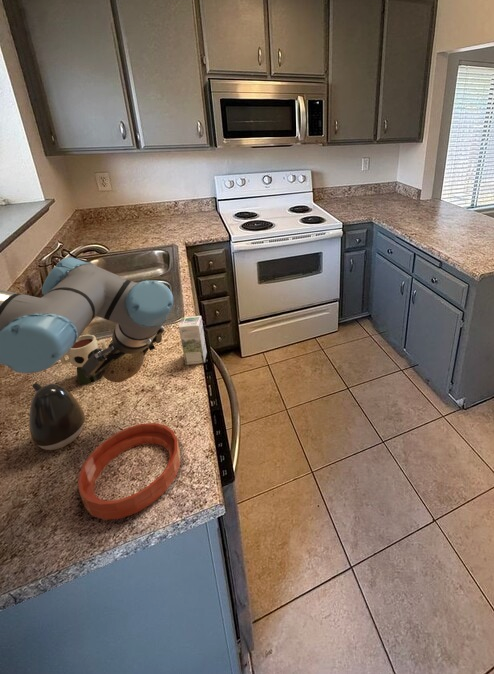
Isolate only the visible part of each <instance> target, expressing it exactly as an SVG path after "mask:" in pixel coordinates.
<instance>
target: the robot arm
mask: <svg viewBox="0 0 494 674" xmlns="http://www.w3.org/2000/svg"><path fill="white" fill-rule="evenodd" d="M41 294H42V296H41V297H38V296H34V295H29V294H28V295H27V294H22V293H17V292H14V291H8V290H4V289H0V365H2V366H6V367H8V368H10V369H11V371H14V372H16V373H20V374H34V373H35V374H36V373H39V372H43V371H46V370H48V369H50V368H51V367H53V366H54V365H55V364H56V363H57V362H59V361H60V358H61V357H62V356H63V355H65V354H66V353H67V352H68V351H69V350H70V349H71V348H72V347H73V345H74V343H75V342H76V340H77V339H78V337H79V336H82V334H83V333H84V331H85V330H86V329H87V327H88V326H89V325H90V324H91V323H92V322H93V320H94V319H95V318H96V317H98V318H101V319H103V320H106V321H110V322H113V323H115V327H114V329H113V332H112V336H111V342H110V343H109V344H108V346H107V347H106V349H104V350H103V349H100V348H101V347H98V348H97V349H95V350H94V351H93V354H92V356H91V357H90V358H89V359H88V360H87V361H86V363H85V364H84V365H83V366H82V367H81V368H82V370H83V372H84V374H85V376H86V378H88V377H91V375H92V376H96V378H97V381H100V380H101V379H102V378H103V377H104V376H103V373H104V371H105V370H104V368H106V367H107V366H108V365H109V364H110V363H112V362H113V361H114V360H116V359H119V358H121V357H123V356H124V355H125V354H136V353H139V352H142V351H143V353H144V356H146V354H147V352H148V351H154V350H155V349H156V347H155V343H156V344H160V343H161V342H162V340H163V339H162V336H163V333H164V332H165V329H164V327H163V325H164V324H165V322H166V321H167V319H168V318H169V315H170V313H171V311H172V309H173V306H174V305H173V304H174V295H173V292H172V290H171V289H170V288H169V287H168V286H167V285H166V284H165V283H163V282H161V281H158V280H143V281H140V282H135V281H133V280H130V279H127V278H125V277H122V276H121V275H119V274H115V273H114V272H111V271H109V270H107V269H104V268H102V267H99V266H97V265H94V263H91V262H87V261H83V260H81V259H78V258H76V257H71V256H69V257H65V258H63V259H61V260H60V261H58V262H57V264H56V265H55V266H54V267H53V268H52V269H51V270H50V272H49V273H48V275H47V277H46V278H45V279H44V282H43V284H42V287H41Z"/></svg>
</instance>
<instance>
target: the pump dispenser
mask: <svg viewBox="0 0 494 674" xmlns="http://www.w3.org/2000/svg"><path fill="white" fill-rule="evenodd" d="M31 387H32V388H33V390H34V391H35V394H34V395H33V397H32V399H31V402H30V407H29V415H28V420H29V422H28V423H29V425H28V427H29V434H30V438H31V442H32V443H33V444H34V445H36V446H37V447H39V448H41V449H43V450H46V451H54V450H55V451H56V450H58V449H62V448H64V447H66V446H68V445H70V444H71V443H72V442H74V441H75V440H76V439H77V438H78V437H79V436H80V434H81V433H82V431H83V428H84V425H85V420H86V414H85V411H84V409H83V408H82V405H81V404H80V403H79V401H78V400H77V398H76V397H75V396H74V395H73V394H72V392H71V391H69V390H68V389H67V388H65V387H64V386H62V385H60V384H57V383H48V384H45V385H43V386H42V385H40V384H39V383H38V382H34V383H33V384H32V385H31Z"/></svg>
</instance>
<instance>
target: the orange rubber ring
mask: <svg viewBox="0 0 494 674" xmlns="http://www.w3.org/2000/svg"><path fill="white" fill-rule="evenodd" d="M147 444H154V445H159V446H162V447H163V448H165V449H166V450H167V451H168V453H169V459H168V462H167V465H166V467H165V469H164V470H163V471H162V473H161V474H160V475H159V476H157V478H155V479H154V480H153V481H152V482H151V483H149V484H148V486H146V487H144V488H142V489H140V490H139V491H137V492H135V493H134V494H132V495H129V496H126V497H122V498H119V499H116V500H115V499H114V500H103V499H101V498H99V497H98V496H97V495H96V493H95V487H96V484H97V483H96V482H97V480H98V478H99V476H100V475H101V473H102V471H103V470H104V469H105V468H106V467H107V466H108V464H109V463H110V462H111V461H113V460H114V459H115V458H117V457H118V456H119V455H120V454H122V453H124V452H126V451H127V450H129V449H131V448H134V447H137V446H141V445H147ZM179 445H180V444H179V440H178V438H177V435H176V434H175V431H174V430H172V428H170V427H168V425H165V424H161V423H158V422H157V423H156V422H148V423H140V424H136V425H132V426H129V427H127V428H125V429H122V430H120V431H118V432H116V433H114V434H112V435H111V436H110V437H108V438H106V439H105V440H104V441H103V442H101V443H100V444H99V445H98V446H97V447H96V448H94V450H93V451H91V453H90V454H89V455H88V457H87V458H86V460H85V461H84V462H83V465H82V467H81V468H80V471H79V475H78V477H77V478H78V479H77V485H78V492H79V494H80V499H81V501H82V504H83V507H84V508H85V510H86V511H87V512H88V513H89V514H90V515H91V516H92V517H94V518H98V519H101V520H105V521H106V520H120V519H123V518H127V517H129V516H131V515H135V514H137V513H139V512H141V511H142V510H144V509H145V508H147V507H149V506H150V505H153V504H154V503H155V502H156V501H158V499H159V498H160V497H161V496H163V494H164V493H165V492H166V491H167V490H168V489H169V488H170V486H171V485H172V484H173V482H174V480H176V477H177V475H178V472H179V470H180V466H181V450H180V446H179Z"/></svg>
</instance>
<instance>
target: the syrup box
mask: <svg viewBox="0 0 494 674" xmlns="http://www.w3.org/2000/svg"><path fill="white" fill-rule="evenodd" d="M178 331H179V337H180V342H181V349H182V353H183V358H184V364H185V366H189V365H199V364H205V363H206V358H207V355H208V351H207V345H206V339H205V333H204V325H203V318H202V315H194V316H193V315H192V316H184V317H181V319H180V322H179V325H178Z"/></svg>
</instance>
